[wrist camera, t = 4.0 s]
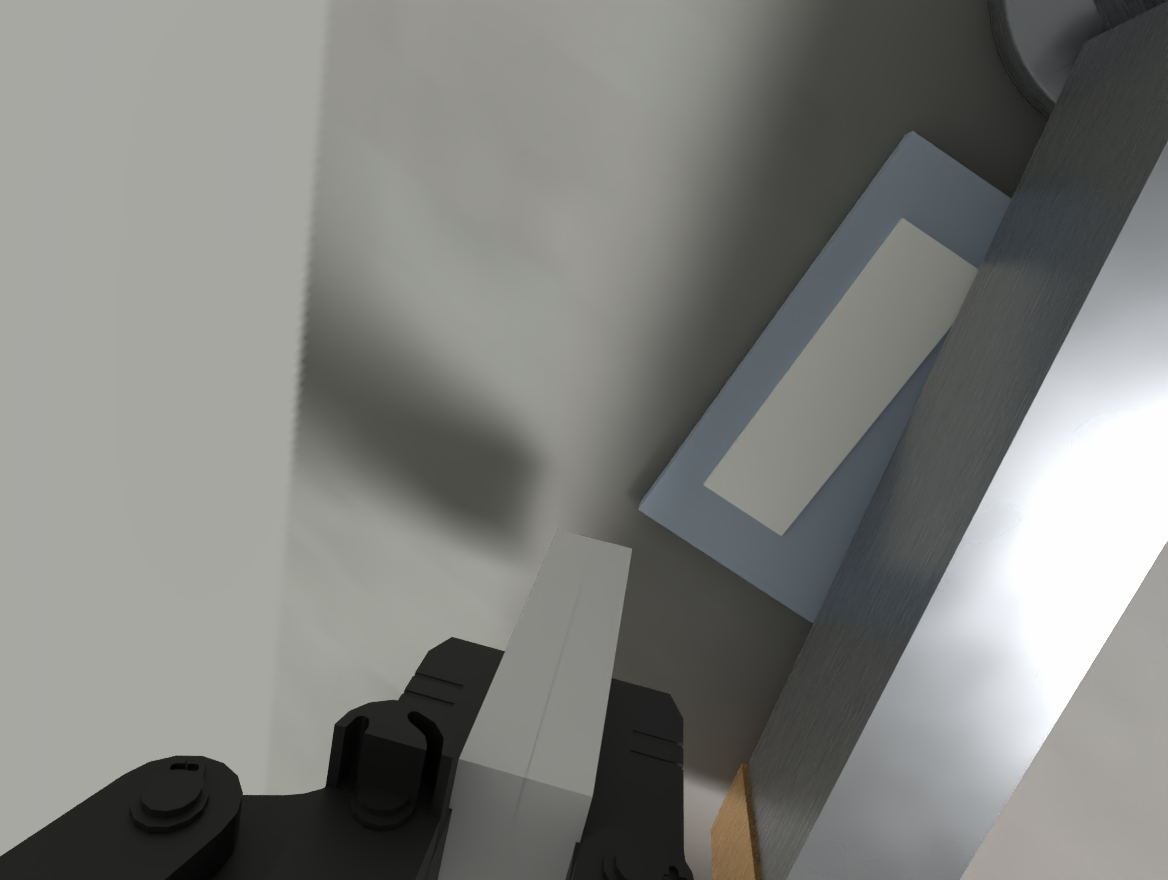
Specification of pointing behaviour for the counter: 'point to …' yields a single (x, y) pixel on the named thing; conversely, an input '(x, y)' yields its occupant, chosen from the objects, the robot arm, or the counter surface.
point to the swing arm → (991, 514)
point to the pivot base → (1042, 43)
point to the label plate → (832, 382)
